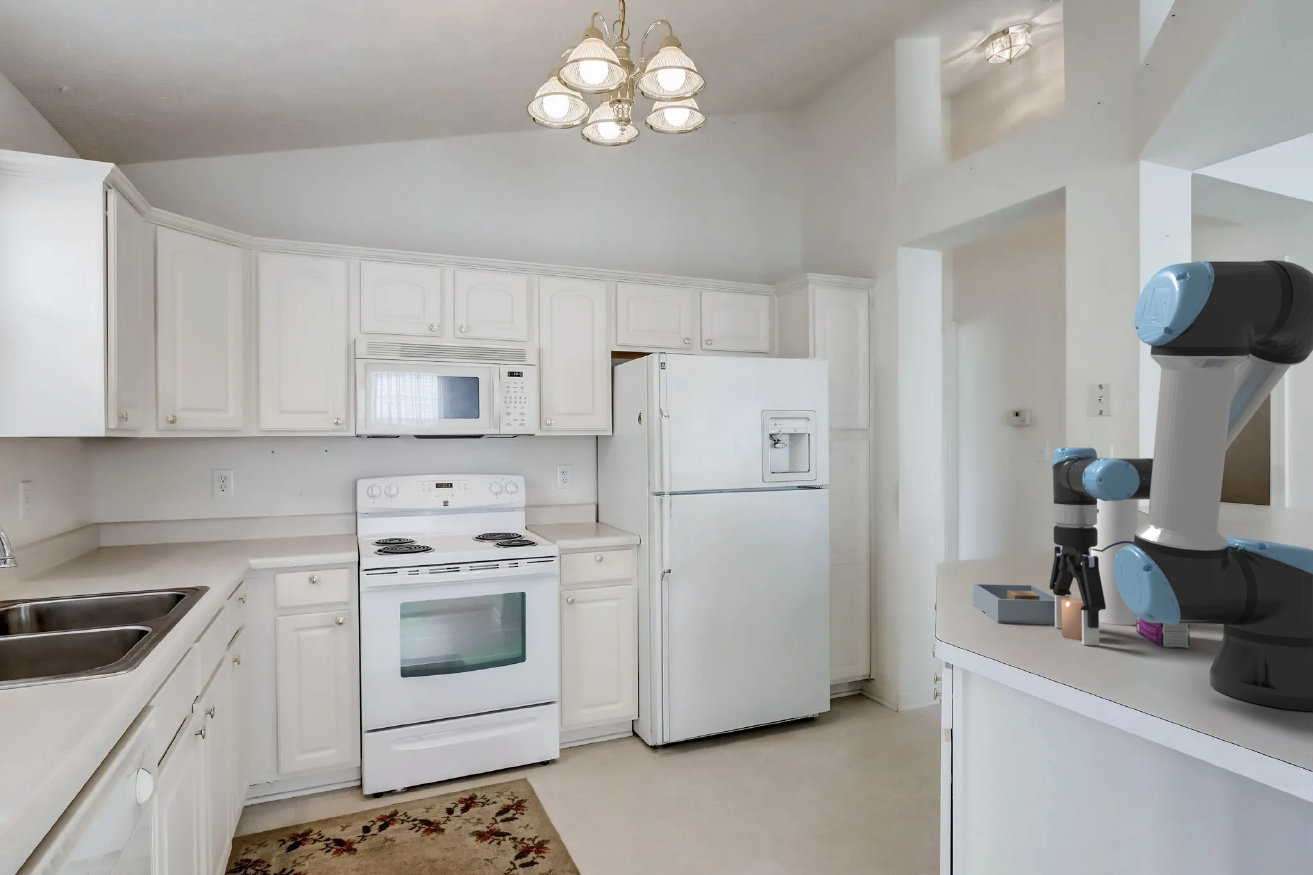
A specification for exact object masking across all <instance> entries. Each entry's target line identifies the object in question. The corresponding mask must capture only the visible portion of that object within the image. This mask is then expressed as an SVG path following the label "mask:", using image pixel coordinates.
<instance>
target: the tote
mask: <svg viewBox="0 0 1313 875" xmlns="http://www.w3.org/2000/svg"><path fill="white" fill-rule="evenodd" d="M972 586H973V587H972V588H973V605H974V604H975V605H976V606H978V608H980V609H981V610H982V611H984V612H985V613H986V614H987V615H986V614H985V613H984V612H983V613H984V614H985V615H986V616H988V615H989V616H990V617H989V616H988V617H989V618H991V619H992V620H993V619H994V620H993V621H995V622H996V623H997V622H998V623H997V624H1014V625H1015V624H1019V625H1020V624H1021V625H1022V624H1023V625H1027V624H1028V625H1052V626H1055V595H1054V594H1051V593H1049V592H1047V591H1045V590H1043V589H1041V588H1040V587H1037V586H1036V585H1033V584H1003V583H1002V584H1001V583H998V584H997V583H973V584H972ZM1007 590H1010V591H1032V592H1034V593H1036V594H1037V595H1039V596H1040V600H1023V599H1007ZM976 606H975V607H976ZM978 608H977V609H978ZM980 609H979V610H980ZM981 610H980V611H981ZM982 611H981V612H982Z"/></svg>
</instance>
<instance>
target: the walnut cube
mask: <svg viewBox="0 0 1313 875" xmlns="http://www.w3.org/2000/svg"><path fill="white" fill-rule="evenodd" d="M1007 599H1023V600H1040V596H1039V595H1037V594H1036V593H1034V592H1032V591H1010V590H1007Z"/></svg>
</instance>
